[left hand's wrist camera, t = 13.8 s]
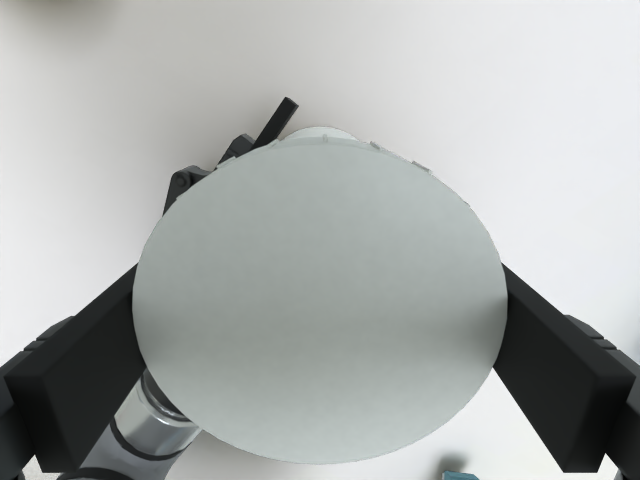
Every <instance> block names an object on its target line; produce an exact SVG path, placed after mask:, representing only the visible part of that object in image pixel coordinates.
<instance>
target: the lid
mask: <svg viewBox="0 0 640 480" xmlns="http://www.w3.org/2000/svg"><path fill="white" fill-rule="evenodd" d="M216 167H217V170H215V171H214V172H212V173H211V174H209V175H208V176H206V177H205V178H203V179H202V180H200V181H199V182H197V183H196V184H195V185H193V186H192V187H191V188H189V189H188V190H187V191H186V192H185V193H183V194H181V195H180V196H178V197H177V198H176V199H177V201H175V202H174V203H173V204H172V206H171V207H170V208H169V209H168V211H167V212H166V213H165V214H164V216H163V217H162V218H161V219H160V221H159V222H158V223H157V225H156V227H155V228H154V230H153V232H152V234H151V235H150V237H149V239H148V241H147V242H146V244H145V247H144V249H143V252H142V255H141V258H140V260H139V263H138V266H137V270H136V275H135V280H134V285H133V300H132V313H133V321H134V328H135V332H136V336H137V341H138V345H139V349H140V352H141V354H142V356H143V358H144V361H145V363H146V365H147V368H148V370H149V371H150V373H151V375H152V376H153V378H154V380H155V381H156V383H157V385H158V386H159V387H160V389H161V390H162V391H163V392H164V394H165V395H166V396H167V397H168V399H169V400H170V401H171V402H172V403H173V404H174V405H175V406H176V407H177V408H178V409H179V410H180V411H181V412H182V413H183V414H184V415H185V416H186V417H187V418H188V419H190V420H191V421H192V422H194V423H195V424H196V425H198V426H199V427H200V428H201V429H203V430H205V431H206V432H208V433H209V434H211V435H213V436H214V437H216V438H218V439H219V440H221V441H223V442H226V443H228V444H230V445H232V446H234V447H236V448H238V449H241V450H244V451H247V452H249V453H252V454H255V455H258V456H262V457H266V458H270V459H274V460H279V461H286V462H292V463H302V464H339V463H347V462H355V461H360V460H365V459H370V458H374V457H378V456H381V455H384V454H387V453H391V452H394V451H396V450H399V449H401V448H403V447H406V446H408V445H410V444H413V443H415V442H417V441H418V440H420V439H422V438H424V437H425V436H427V435H429V434H431V433H432V432H434V431H435V430H437V429H438V428H439V427H441V426H442V425H444V424H445V423H447V422H448V421H449V420H450V419H451V418H452V417H454V416H455V415H456V414H457V413H458V412H459V411H460V410H461V409H463V408H464V406H465V405H466V404H467V403H468V402H469V401H470V400H471V398H472V397H473V396H474V395H475V394H476V393H477V391H478V390H479V388H480V387H481V385H482V384H483V383H484V381H485V380H486V378H487V377H488V375H489V373H490V371H491V369H492V367H493V365H494V363H495V361H496V359H497V356H498V353H499V350H500V347H501V344H502V340H503V336H504V331H505V326H506V322H507V304H508V296H507V288H506V281H505V274H504V271H503V267H502V264H501V261H500V257H499V254H498V252H497V249H496V247H495V245H494V243H493V241H492V239H491V237H490V235H489V233H488V231H487V230H486V228H485V227H484V225H483V224H482V223H481V221H480V220H479V218H478V217H477V215H476V214H475V213H474V211H473V210H472V209H471V208H470V205H469V204H468V203H466V202H465V201H463V200H462V199H461V198H460V197H459V196H458V195H457V194H456V193H455V192H454V191H453V190H451V189H450V188H449V187H448V186H446V185H445V184H444V183H442V182H441V181H440V180H438V179H437V178H436V177H434V176H433V175H431V174H432V173H433V172H432V171H431V170H429V169H427V168H425V167H424V166H422V165H420V164H418V163H416V162H415V161H413V162H412V163H411V162H409V161H407V160H405V159H403V158H402V157H400V156H398V155H396V154H395V153H393V152H390V151H388V150H385V149H384V148H383V147H381V146H379V145H378V144H376V143H374V142H372V141H371V143H370V144H368V143H364V142H360V141H356V140H351V139H345V138H335V137H327V134H323V137H301V138H295V139H290V140H284V141H279V139H275V140H274V141H272V142H271V143H269V144H268V145H266V146H263V147H260V148H257V149H254V150H252V151H250V152H248V153H246V154H244V155H242V156H240V157H238V158H235V156H234V157H232V158H230V159H228V160H226V161H224V162H223V163H221V164H219V165H217V166H216Z"/></svg>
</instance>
